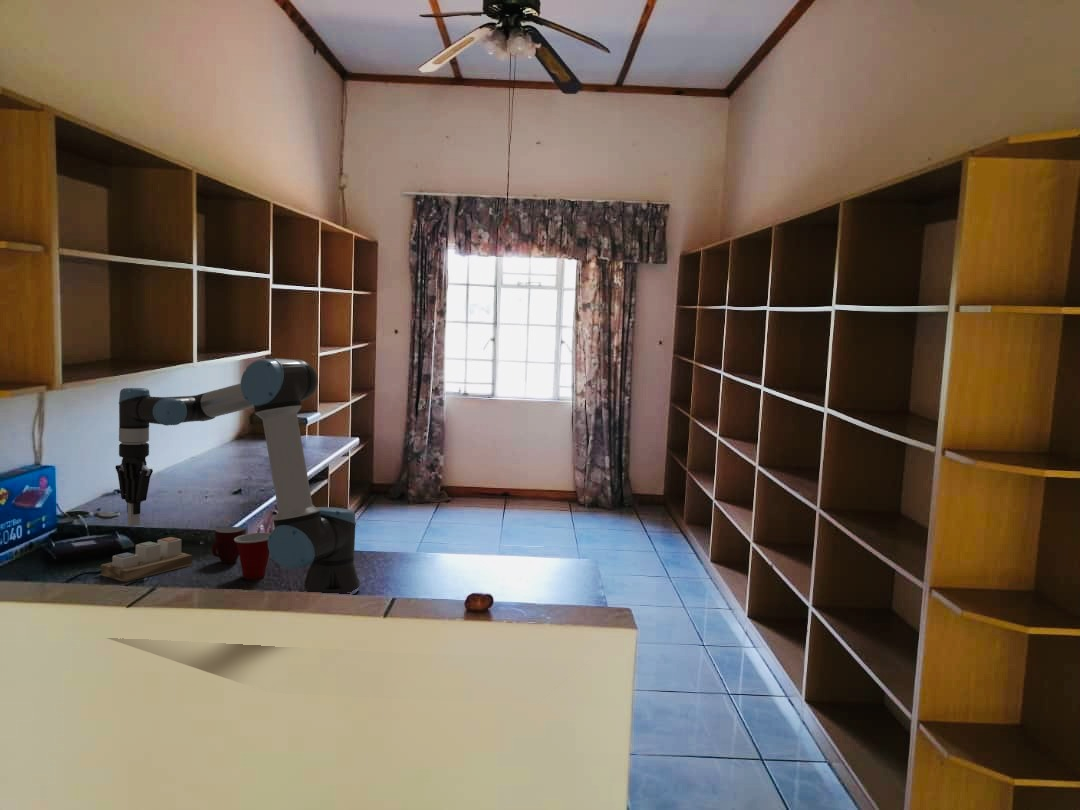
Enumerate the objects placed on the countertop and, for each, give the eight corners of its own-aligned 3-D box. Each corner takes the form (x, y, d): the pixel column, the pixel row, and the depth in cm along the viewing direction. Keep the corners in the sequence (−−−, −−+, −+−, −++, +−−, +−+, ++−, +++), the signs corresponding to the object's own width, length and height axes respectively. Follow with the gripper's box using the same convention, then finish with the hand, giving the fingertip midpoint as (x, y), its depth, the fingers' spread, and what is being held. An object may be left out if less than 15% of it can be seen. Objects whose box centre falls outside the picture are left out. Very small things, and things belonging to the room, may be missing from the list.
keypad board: (191, 564, 230) (191, 555, 230) (126, 582, 211) (126, 571, 211) (167, 558, 235) (167, 549, 235) (101, 575, 216) (101, 564, 216)
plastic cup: (240, 570, 226) (240, 530, 226) (277, 571, 227) (278, 531, 226) (227, 581, 216) (228, 539, 215) (266, 582, 216) (267, 540, 216)
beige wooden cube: (160, 561, 224) (160, 543, 223) (145, 564, 220) (146, 546, 219) (149, 558, 226) (150, 540, 225) (135, 561, 222) (135, 543, 221)
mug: (227, 568, 228) (227, 535, 227) (203, 565, 229) (204, 533, 229) (248, 559, 238) (249, 528, 237) (225, 557, 240) (226, 525, 239)
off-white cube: (138, 572, 218) (138, 554, 217) (122, 576, 214) (122, 557, 213) (127, 569, 220) (127, 551, 219) (112, 573, 216) (112, 555, 215)
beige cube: (181, 555, 230) (181, 538, 230) (167, 559, 226) (167, 541, 226) (171, 553, 232) (171, 536, 232) (157, 556, 228) (157, 539, 228)
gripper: (161, 443, 217) (160, 525, 218) (131, 439, 222) (130, 519, 224) (137, 445, 210) (136, 530, 211) (106, 441, 216) (106, 524, 217)
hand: (133, 525), depth 218 cm, fingers closed
